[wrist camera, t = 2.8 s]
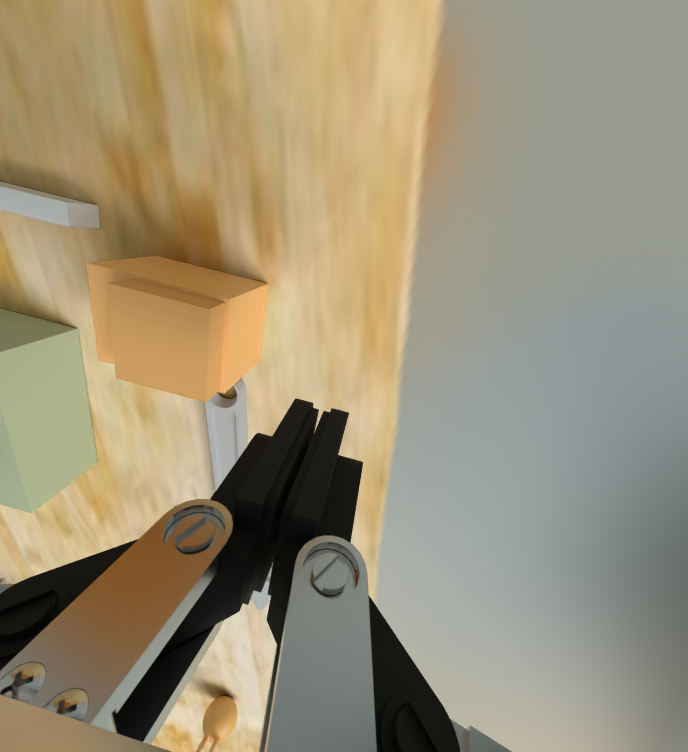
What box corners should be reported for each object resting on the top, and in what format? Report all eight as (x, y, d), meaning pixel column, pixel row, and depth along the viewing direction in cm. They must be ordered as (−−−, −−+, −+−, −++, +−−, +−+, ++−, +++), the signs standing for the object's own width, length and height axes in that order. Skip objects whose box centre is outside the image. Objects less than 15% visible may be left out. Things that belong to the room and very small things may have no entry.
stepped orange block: (260, 359, 21) (210, 407, 15) (160, 333, 22) (74, 370, 16) (269, 283, 19) (214, 305, 13) (158, 255, 19) (57, 265, 14)
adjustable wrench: (211, 363, 22) (197, 373, 21) (301, 381, 22) (294, 393, 20) (214, 587, 33) (205, 605, 31) (275, 602, 32) (269, 621, 31)
